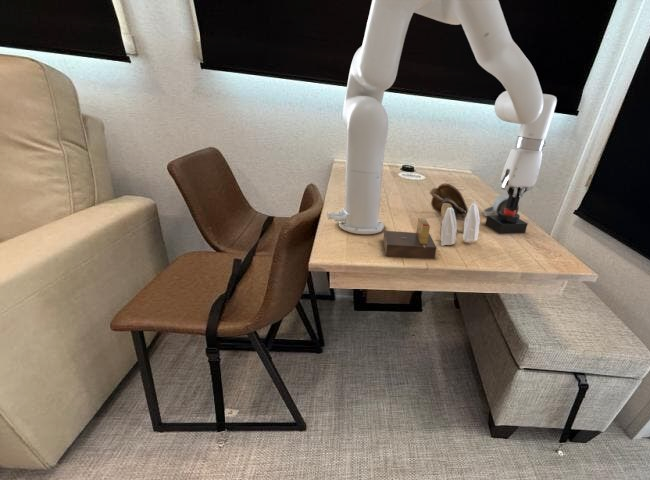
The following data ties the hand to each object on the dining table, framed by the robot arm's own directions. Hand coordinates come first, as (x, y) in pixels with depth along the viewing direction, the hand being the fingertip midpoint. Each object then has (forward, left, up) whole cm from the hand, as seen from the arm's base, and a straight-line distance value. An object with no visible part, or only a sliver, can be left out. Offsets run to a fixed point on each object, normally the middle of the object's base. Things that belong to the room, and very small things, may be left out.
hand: (510, 208), depth 102 cm
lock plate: (-38, -12, -7) cm, 41 cm away
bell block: (0, 0, -7) cm, 7 cm away
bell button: (0, 0, -2) cm, 2 cm away
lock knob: (-36, -13, -4) cm, 39 cm away
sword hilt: (-19, +5, -7) cm, 20 cm away
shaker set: (-23, -9, -7) cm, 25 cm away
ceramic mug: (+5, +11, -7) cm, 14 cm away
